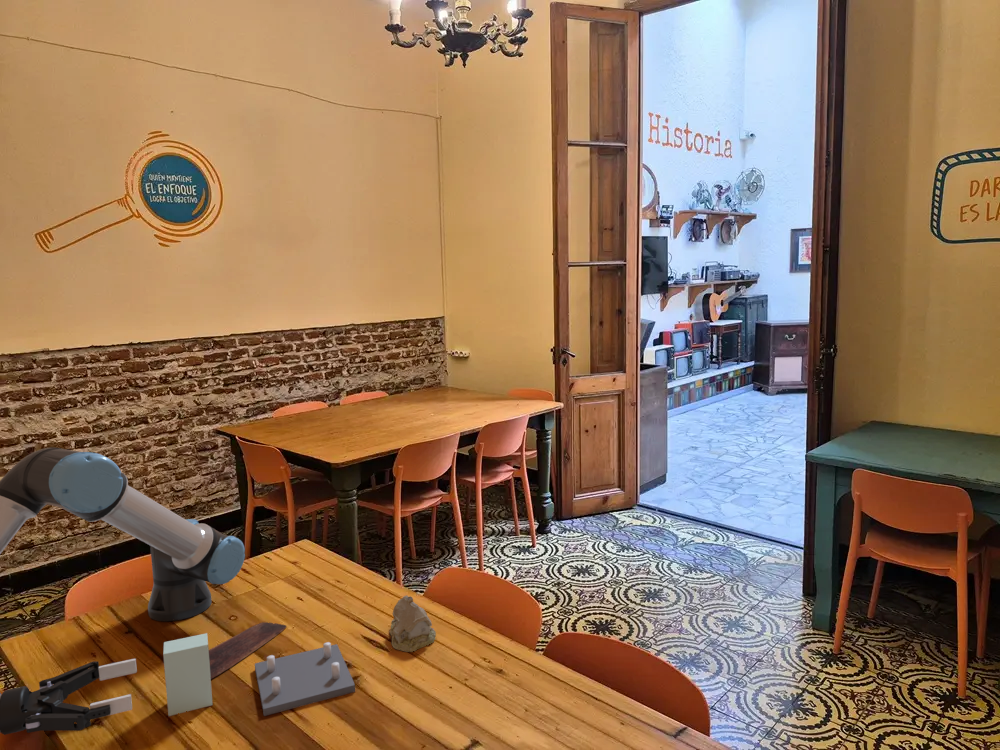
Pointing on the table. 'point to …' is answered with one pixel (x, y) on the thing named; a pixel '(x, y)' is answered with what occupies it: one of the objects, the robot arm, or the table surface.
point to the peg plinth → (302, 678)
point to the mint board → (187, 674)
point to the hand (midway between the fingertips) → (134, 682)
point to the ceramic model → (410, 626)
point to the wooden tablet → (241, 646)
